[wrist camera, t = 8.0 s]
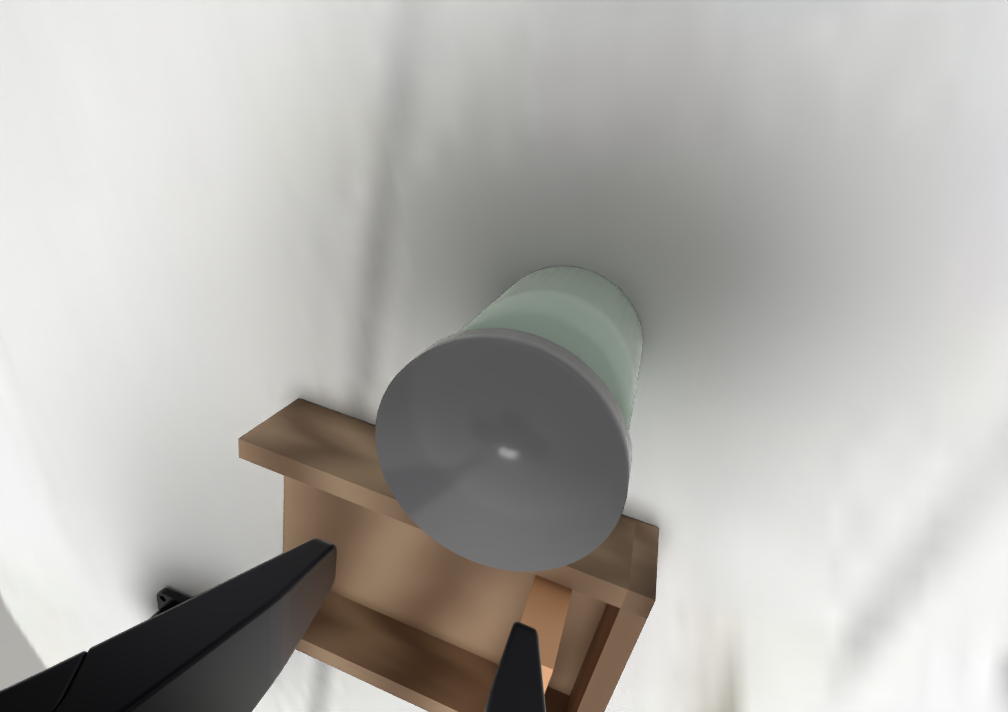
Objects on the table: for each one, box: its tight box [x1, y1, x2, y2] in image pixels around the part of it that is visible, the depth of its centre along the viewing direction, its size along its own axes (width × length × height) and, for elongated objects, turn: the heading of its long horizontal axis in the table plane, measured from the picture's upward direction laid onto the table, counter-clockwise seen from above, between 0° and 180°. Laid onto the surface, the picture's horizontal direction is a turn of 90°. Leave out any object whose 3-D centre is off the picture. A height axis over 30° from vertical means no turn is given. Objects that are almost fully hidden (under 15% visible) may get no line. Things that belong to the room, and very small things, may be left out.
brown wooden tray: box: [238, 398, 659, 712], centre depth 25 cm, size 18×12×4 cm, turn 79°
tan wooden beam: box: [520, 575, 572, 694], centre depth 22 cm, size 2×9×6 cm, turn 169°
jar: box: [375, 266, 643, 572], centre depth 17 cm, size 6×6×9 cm
